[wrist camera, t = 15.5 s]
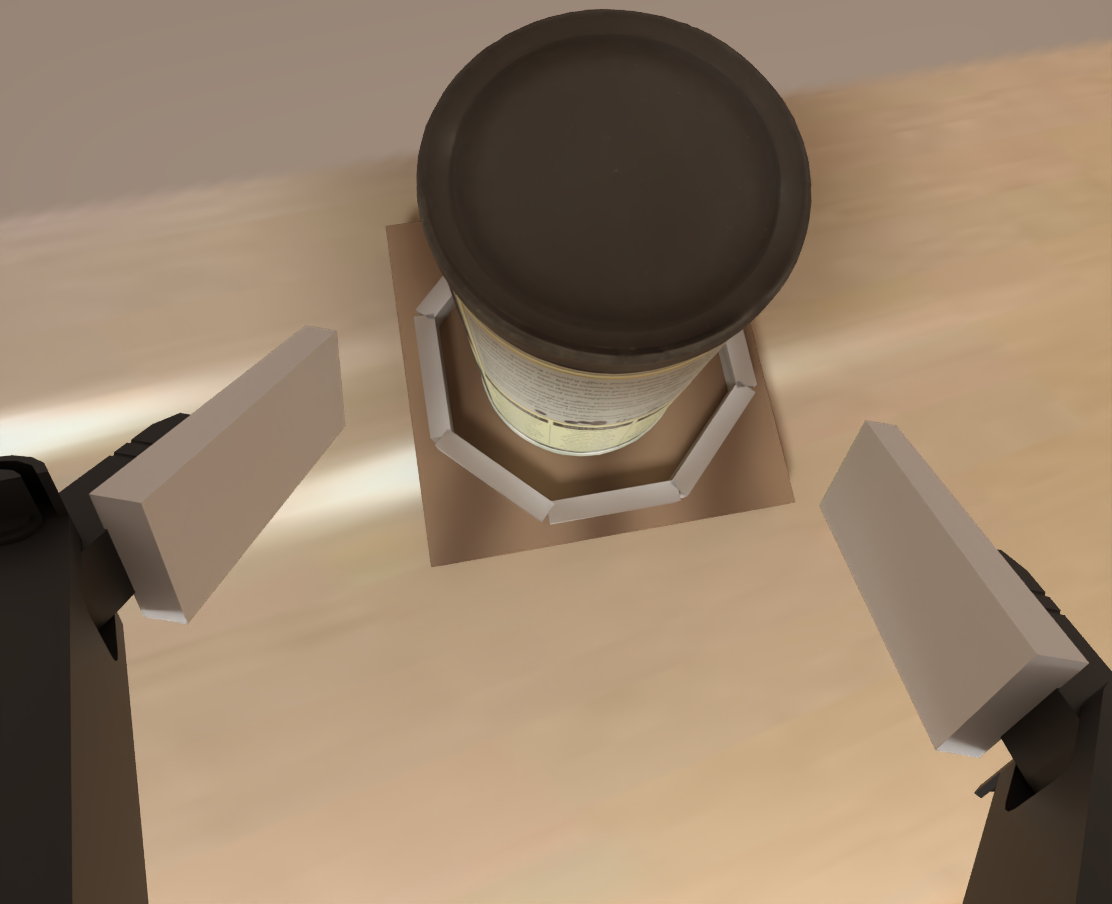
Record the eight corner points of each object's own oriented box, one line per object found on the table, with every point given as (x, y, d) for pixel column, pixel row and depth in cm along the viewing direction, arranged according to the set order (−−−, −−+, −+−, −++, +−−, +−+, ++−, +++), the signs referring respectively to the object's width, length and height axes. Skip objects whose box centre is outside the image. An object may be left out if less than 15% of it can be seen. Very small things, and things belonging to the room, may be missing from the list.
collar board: (438, 566, 28) (425, 567, 25) (395, 246, 31) (379, 212, 28) (777, 505, 29) (806, 499, 26) (703, 202, 32) (720, 164, 29)
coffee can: (442, 323, 28) (345, 102, 14) (614, 235, 29) (679, -50, 15) (541, 497, 27) (540, 440, 13) (717, 397, 28) (893, 244, 14)
